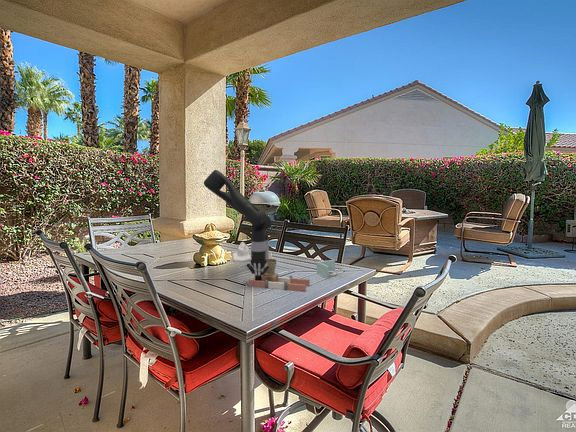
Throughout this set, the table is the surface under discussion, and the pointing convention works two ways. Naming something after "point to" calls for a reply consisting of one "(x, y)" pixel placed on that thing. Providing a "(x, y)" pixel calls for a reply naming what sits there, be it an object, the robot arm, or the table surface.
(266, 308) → the table surface
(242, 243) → the citrus juicer
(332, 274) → the right angle wall
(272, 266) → the flower pot
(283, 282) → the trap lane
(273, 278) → the walnut block
